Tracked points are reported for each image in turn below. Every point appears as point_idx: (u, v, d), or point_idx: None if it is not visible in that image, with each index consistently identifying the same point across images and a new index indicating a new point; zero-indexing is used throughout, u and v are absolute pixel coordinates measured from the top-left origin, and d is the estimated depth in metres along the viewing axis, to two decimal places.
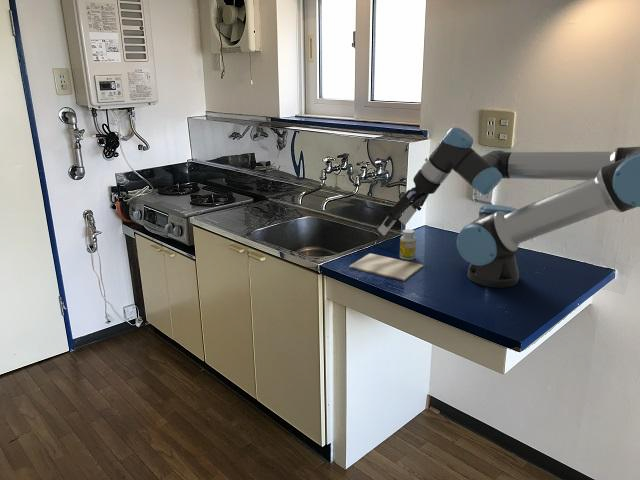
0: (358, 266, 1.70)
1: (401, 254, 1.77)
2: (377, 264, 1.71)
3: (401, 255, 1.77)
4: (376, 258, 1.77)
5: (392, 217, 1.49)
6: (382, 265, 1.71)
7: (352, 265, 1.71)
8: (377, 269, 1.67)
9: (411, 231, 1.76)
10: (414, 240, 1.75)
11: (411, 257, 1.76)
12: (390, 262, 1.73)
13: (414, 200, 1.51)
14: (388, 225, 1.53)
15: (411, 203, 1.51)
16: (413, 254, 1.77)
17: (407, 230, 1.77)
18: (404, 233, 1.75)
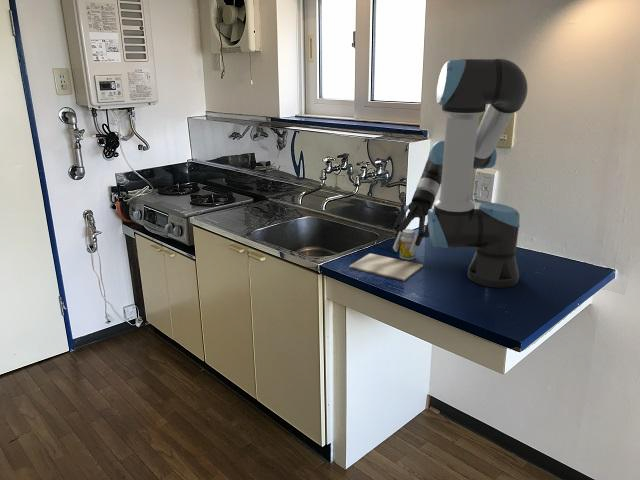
0: (358, 266, 1.70)
1: (401, 254, 1.77)
2: (377, 264, 1.71)
3: (401, 255, 1.77)
4: (376, 258, 1.77)
5: None
6: (382, 265, 1.71)
7: (352, 265, 1.71)
8: (377, 269, 1.67)
9: (411, 231, 1.75)
10: None
11: (411, 257, 1.76)
12: (390, 262, 1.73)
13: (410, 211, 1.80)
14: (395, 237, 1.78)
15: None
16: None
17: (407, 230, 1.77)
18: (404, 233, 1.75)
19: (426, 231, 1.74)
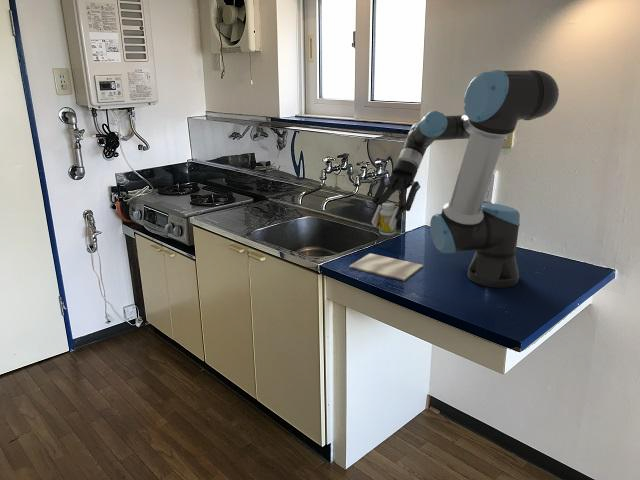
0: (358, 266, 1.70)
1: (380, 229, 1.65)
2: (377, 264, 1.71)
3: (380, 230, 1.65)
4: (376, 258, 1.77)
5: None
6: (382, 265, 1.71)
7: (352, 265, 1.71)
8: (377, 269, 1.67)
9: (391, 204, 1.63)
10: None
11: (391, 232, 1.64)
12: (390, 262, 1.73)
13: None
14: (374, 211, 1.66)
15: None
16: (393, 229, 1.65)
17: (387, 203, 1.65)
18: (383, 206, 1.63)
19: (407, 204, 1.62)
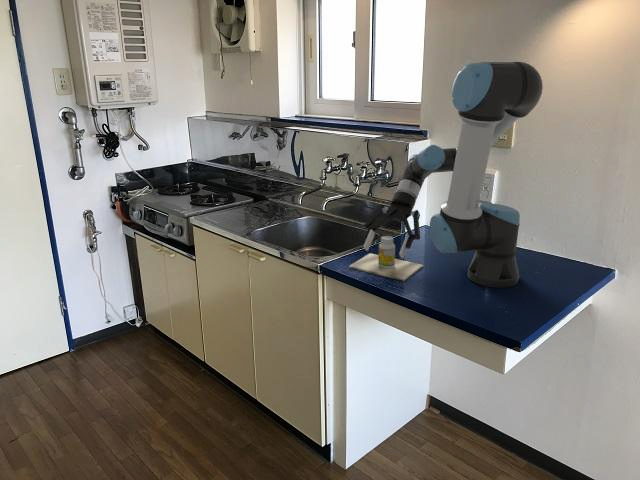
0: (358, 266, 1.70)
1: (380, 262, 1.69)
2: (377, 264, 1.71)
3: (380, 263, 1.69)
4: (376, 258, 1.77)
5: None
6: None
7: (352, 265, 1.71)
8: (377, 269, 1.67)
9: (390, 238, 1.67)
10: (393, 247, 1.67)
11: (390, 265, 1.68)
12: None
13: None
14: (366, 236, 1.72)
15: None
16: (392, 262, 1.68)
17: (386, 237, 1.68)
18: (382, 240, 1.67)
19: (416, 233, 1.64)
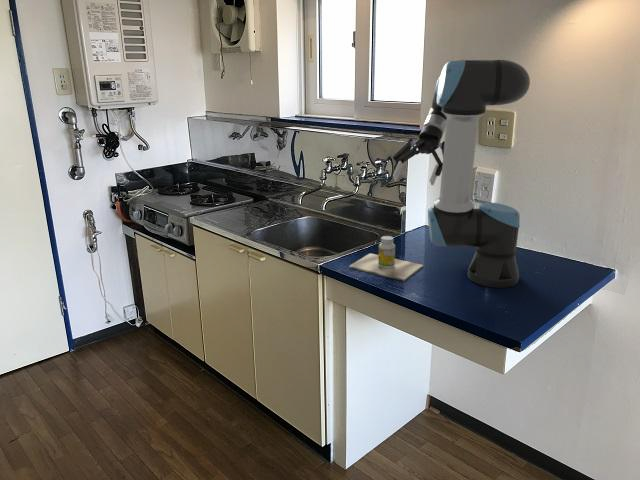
0: (358, 266, 1.70)
1: (379, 262, 1.69)
2: (377, 264, 1.71)
3: (380, 263, 1.69)
4: (376, 258, 1.77)
5: None
6: None
7: (352, 265, 1.71)
8: (377, 269, 1.67)
9: (390, 238, 1.67)
10: (393, 247, 1.67)
11: (390, 265, 1.68)
12: None
13: None
14: (395, 167, 1.81)
15: None
16: (392, 262, 1.68)
17: (386, 237, 1.68)
18: (382, 240, 1.67)
19: None
